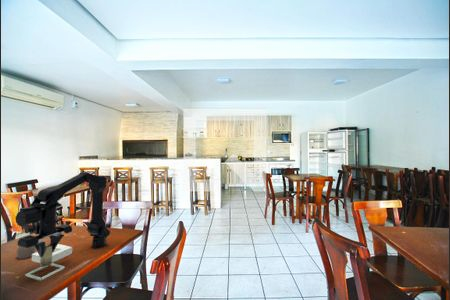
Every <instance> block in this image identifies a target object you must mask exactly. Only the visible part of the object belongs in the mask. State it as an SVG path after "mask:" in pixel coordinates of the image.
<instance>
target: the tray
mask: <svg viewBox="0 0 450 300" xmlns="http://www.w3.org/2000/svg"><path fill="white" fill-rule="evenodd" d="M50 266H52V267H55V268H56V269H55V270H54V271H52V272H49V273H47V274H46V275H44V276H42V277H40V276H36V275H34V273H36V272H38V271H40V270H43V269H44V268H47V267H48V266H45V267H41V266H39V267H37V268H36V269H33V270H32V271H29V272H27V273H25V274H24V277H26V278H27V277H28V278H30V279H34V280H37V281H40V282H41V281H43V280H45V279H47V278H48V277H51V276H52V275H54V274H57V273H58V272H60V271H62V270H64V269H65V268H66V266H65V265H61V264H56V263H54V262H53V263H52V264H51V265H50Z"/></svg>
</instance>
